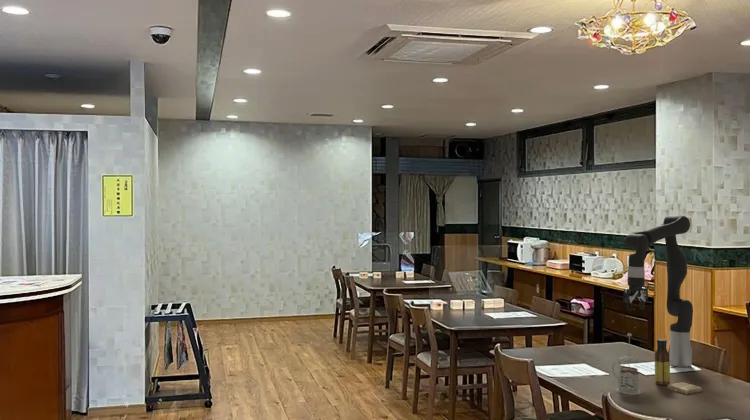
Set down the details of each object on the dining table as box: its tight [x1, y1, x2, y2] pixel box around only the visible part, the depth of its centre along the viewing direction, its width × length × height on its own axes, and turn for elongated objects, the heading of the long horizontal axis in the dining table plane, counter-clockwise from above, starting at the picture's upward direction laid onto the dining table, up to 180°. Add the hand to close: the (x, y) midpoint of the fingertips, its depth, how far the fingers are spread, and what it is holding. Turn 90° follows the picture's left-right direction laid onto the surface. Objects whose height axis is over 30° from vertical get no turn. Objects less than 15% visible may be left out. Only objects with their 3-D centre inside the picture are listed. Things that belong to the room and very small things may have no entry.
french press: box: [611, 332, 642, 396], centre depth 276 cm, size 10×12×25 cm
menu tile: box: [667, 381, 702, 395], centre depth 279 cm, size 2×10×9 cm
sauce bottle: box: [654, 338, 671, 386], centre depth 288 cm, size 7×6×20 cm
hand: (635, 310), depth 306 cm, fingers open, 8 cm apart
